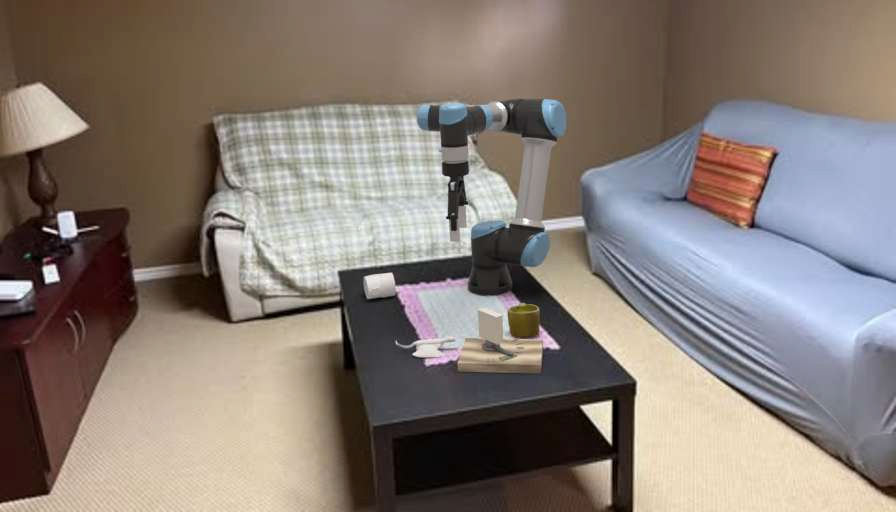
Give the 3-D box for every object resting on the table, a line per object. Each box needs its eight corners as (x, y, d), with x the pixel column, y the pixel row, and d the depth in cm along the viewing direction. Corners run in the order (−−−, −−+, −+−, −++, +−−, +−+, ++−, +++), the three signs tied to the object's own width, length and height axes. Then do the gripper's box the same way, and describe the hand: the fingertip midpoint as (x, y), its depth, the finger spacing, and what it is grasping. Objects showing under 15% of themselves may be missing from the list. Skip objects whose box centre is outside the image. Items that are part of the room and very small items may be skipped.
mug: (544, 336, 219) (533, 303, 219) (510, 345, 222) (499, 312, 222) (550, 327, 231) (540, 296, 231) (518, 336, 234) (508, 304, 234)
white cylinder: (396, 299, 258) (395, 277, 256) (369, 303, 256) (367, 281, 254) (389, 288, 269) (388, 266, 267) (363, 291, 267) (361, 270, 265)
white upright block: (488, 340, 217) (487, 306, 214) (519, 354, 208) (518, 318, 205) (475, 346, 214) (473, 311, 211) (505, 360, 205) (504, 323, 202)
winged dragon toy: (392, 361, 214) (391, 348, 213) (393, 346, 224) (392, 333, 222) (457, 357, 214) (456, 343, 213) (455, 342, 224) (454, 329, 223)
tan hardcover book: (465, 346, 220) (465, 337, 220) (543, 347, 217) (543, 338, 216) (457, 371, 205) (457, 361, 205) (540, 373, 202) (540, 363, 201)
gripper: (448, 152, 225) (452, 222, 232) (433, 170, 202) (438, 247, 209) (474, 151, 224) (476, 222, 231) (462, 169, 201) (465, 247, 207)
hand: (458, 234), depth 220 cm, fingers open, 13 cm apart
